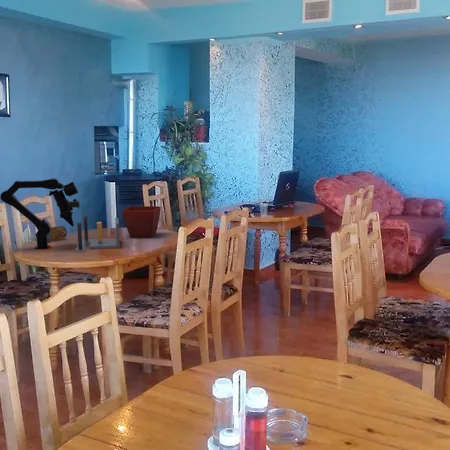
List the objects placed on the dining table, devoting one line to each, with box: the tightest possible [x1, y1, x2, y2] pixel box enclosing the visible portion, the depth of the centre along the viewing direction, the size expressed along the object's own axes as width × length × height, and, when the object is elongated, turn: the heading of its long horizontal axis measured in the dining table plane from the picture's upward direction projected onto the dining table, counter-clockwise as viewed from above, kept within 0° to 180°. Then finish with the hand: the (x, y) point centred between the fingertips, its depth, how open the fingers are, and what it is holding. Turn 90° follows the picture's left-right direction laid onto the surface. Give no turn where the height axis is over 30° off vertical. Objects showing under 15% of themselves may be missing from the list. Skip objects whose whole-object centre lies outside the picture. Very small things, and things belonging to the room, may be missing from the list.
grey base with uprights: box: [89, 217, 121, 250], centre depth 339 cm, size 16×22×14 cm
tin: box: [46, 225, 68, 243], centre depth 354 cm, size 15×3×8 cm, turn 143°
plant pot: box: [121, 205, 162, 238], centre depth 367 cm, size 19×19×17 cm
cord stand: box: [74, 215, 91, 253], centre depth 337 cm, size 5×32×15 cm, turn 6°
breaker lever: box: [96, 221, 103, 243], centre depth 339 cm, size 2×5×11 cm, turn 11°
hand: (73, 226), depth 335 cm, fingers closed
